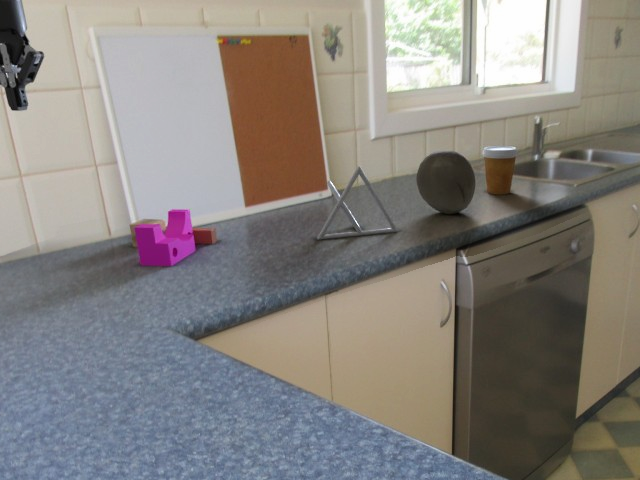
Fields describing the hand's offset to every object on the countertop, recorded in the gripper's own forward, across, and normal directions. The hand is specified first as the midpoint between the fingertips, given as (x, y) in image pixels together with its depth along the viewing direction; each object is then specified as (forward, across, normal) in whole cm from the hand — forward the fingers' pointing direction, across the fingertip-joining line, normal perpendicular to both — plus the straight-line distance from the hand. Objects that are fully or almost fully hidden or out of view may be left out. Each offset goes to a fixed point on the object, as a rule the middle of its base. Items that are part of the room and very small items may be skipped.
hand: (19, 110), depth 114 cm
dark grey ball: (+29, -64, -57) cm, 91 cm away
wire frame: (+29, -47, -37) cm, 67 cm away
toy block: (+29, -17, -13) cm, 36 cm away
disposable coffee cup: (+29, -74, -84) cm, 116 cm away
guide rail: (+29, -13, -22) cm, 39 cm away
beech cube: (+29, -8, -19) cm, 36 cm away
